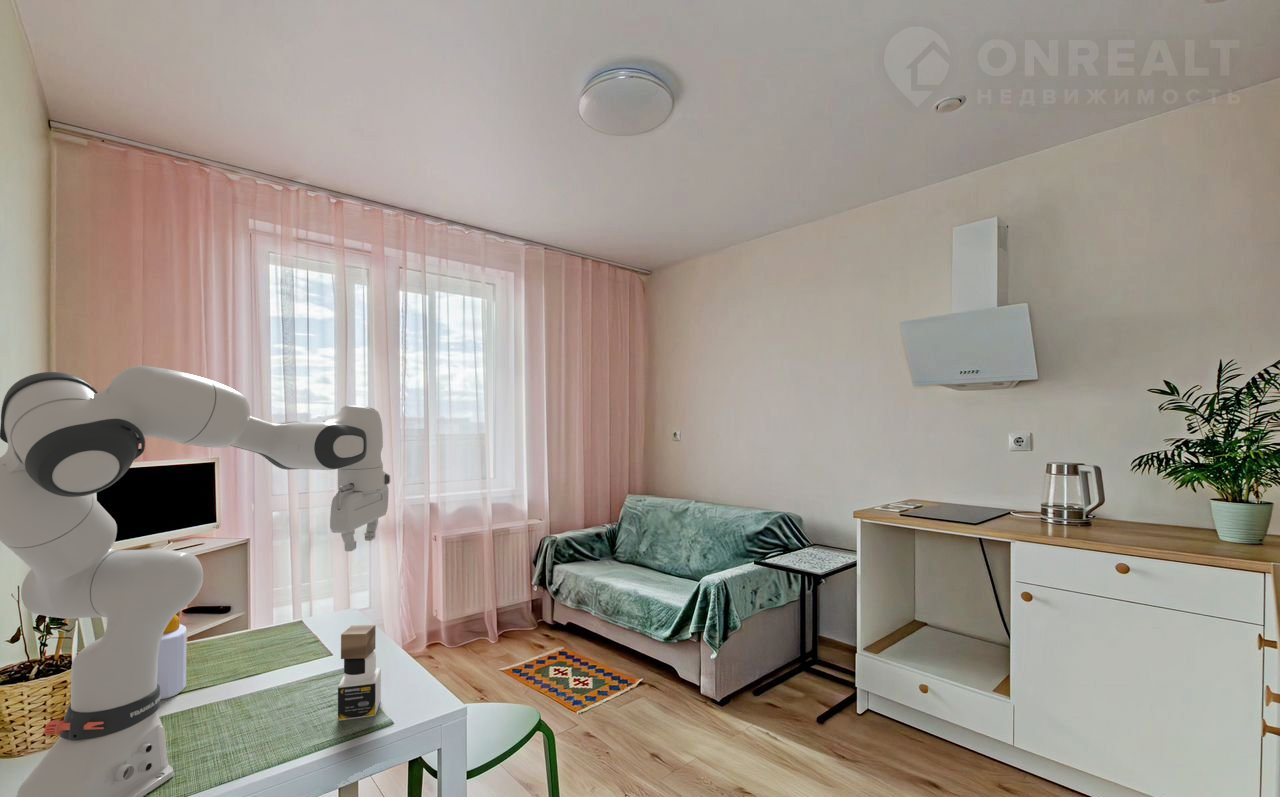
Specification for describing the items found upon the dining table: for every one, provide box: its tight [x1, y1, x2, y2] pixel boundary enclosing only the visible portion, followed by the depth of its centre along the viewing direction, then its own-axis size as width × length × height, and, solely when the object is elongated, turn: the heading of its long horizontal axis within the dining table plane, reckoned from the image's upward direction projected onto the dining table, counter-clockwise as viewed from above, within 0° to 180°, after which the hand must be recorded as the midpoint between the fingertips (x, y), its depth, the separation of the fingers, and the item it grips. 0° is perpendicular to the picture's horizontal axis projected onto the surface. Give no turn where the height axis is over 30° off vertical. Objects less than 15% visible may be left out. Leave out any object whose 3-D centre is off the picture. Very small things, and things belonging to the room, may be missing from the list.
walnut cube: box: [340, 624, 377, 660], centre depth 123 cm, size 5×5×5 cm
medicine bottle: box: [337, 650, 382, 722], centre depth 123 cm, size 7×7×12 cm
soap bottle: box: [157, 614, 188, 701], centre depth 133 cm, size 13×8×20 cm, turn 46°
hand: (360, 545), depth 126 cm, fingers open, 8 cm apart
